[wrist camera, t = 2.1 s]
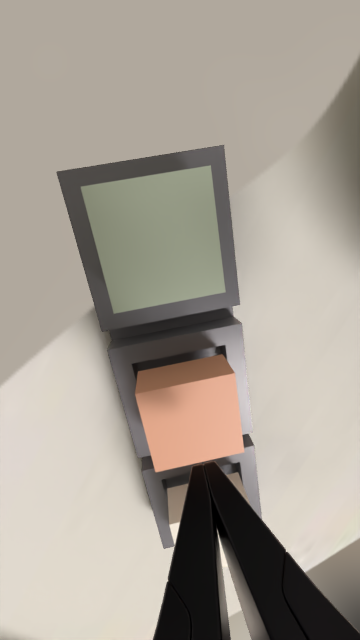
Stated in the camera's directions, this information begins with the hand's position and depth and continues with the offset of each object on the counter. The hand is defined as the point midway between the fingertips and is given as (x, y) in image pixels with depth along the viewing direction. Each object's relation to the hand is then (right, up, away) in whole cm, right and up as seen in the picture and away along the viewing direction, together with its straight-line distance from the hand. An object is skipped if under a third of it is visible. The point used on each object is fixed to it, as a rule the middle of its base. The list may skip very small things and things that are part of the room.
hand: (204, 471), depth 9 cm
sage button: (-2, +9, +2) cm, 9 cm away
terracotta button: (0, +1, +4) cm, 4 cm away
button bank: (-1, +2, +6) cm, 7 cm away
